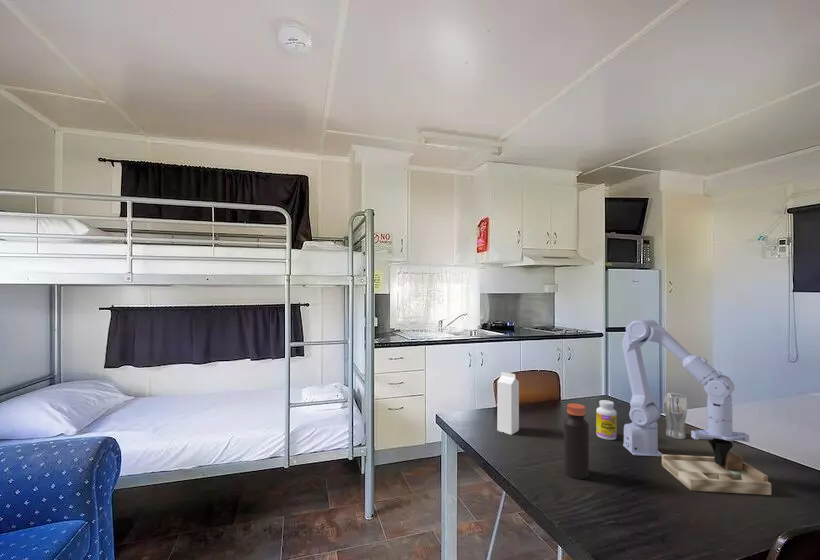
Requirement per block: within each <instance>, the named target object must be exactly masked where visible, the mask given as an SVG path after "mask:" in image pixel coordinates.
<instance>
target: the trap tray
mask: <svg viewBox="0 0 820 560" xmlns="http://www.w3.org/2000/svg"><path fill="white" fill-rule="evenodd" d="M661 466H662V467H663V468H664V469H665V470H667V471H668V472H669V473H670V474H671V475H672V476H673V477H674V478H675V479H677V481H679V482H680V483H681V484H683V485H684V486H685V487H686V488H687V489H688V490H690V491H694V492H695V491H696V492H711V493H728V494H729V493H730V494H732V493H733V494H744V495H745V494H748V495H763V496H764V495H765V496H766V495H767V496H772V482H769V476H768V475H767V474H765V473H763V472H762V471H760V470H758V469H757V468H756V467H754V466H753V465H751V464H749V463H747V462H745V461H744V460H743V463H742V471H735V470H727V469H725V468H724V467H722V466H720V465H718V464H717V463H715V459H714V456H705V455H684V454H683V455H682V454H664V453H662V457H661Z"/></svg>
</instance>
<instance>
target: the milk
mask: <svg viewBox="0 0 820 560" xmlns="http://www.w3.org/2000/svg"><path fill="white" fill-rule="evenodd" d="M496 386H497V389H496V390H497V393H496V394H497V397H496V398H497V399H496V400H497V403H496V404H497V407H496V408H497V410H496V411H497V415H496V416H497V420H496V421H497V422H496V423H497V424H496V425H497V427H496V430H497V431H498V432H500V433H503V432H504V434H507V435H510V436H512V435H513V434H514V435H515V434H516V433H517V432H518V431H519V430H520V406H519V405H520V390H519V389H520V381H519V380H518V379H517V378H516V374H515V373H512V372H511V373H510V372H505V371H501V372H500V377H499V378H498V379H497V385H496Z"/></svg>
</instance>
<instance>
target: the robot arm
mask: <svg viewBox="0 0 820 560" xmlns="http://www.w3.org/2000/svg"><path fill="white" fill-rule="evenodd" d="M646 342H653V343H656V344H660V345H662V346H663V347H664V348H666V350H667V351H669V352H670V353H671V354H672V355H674V356H675V357H676V358H677V359H679V360H680V361H681V362H682V368H683V369H684V370H686V372H687V373H688V374H690V375H691V376H692V378H694V379H695V380H696V381H697V382H698V383H700V385H702V386H703V389H704V392H705V393H706V394H707V400H706V401H707V402H706V403H707V404H706V408H707V409H706V411H707V412H706V413H707V414H706V415H707V417H706V422H707V423H706V425H707V426H706V427H707V428H706V429H705V428H704V429H698V430H691V431H690V436H691V438H692V439H694V440H697V441H698V440H699V441H700V440H707V441H708V443H709V444H710V447H711V449H712V451H713V453H714V455H713V457H714V459H715V463H717V464H718V465H720V466H724V465H725V457H726V455H727V453H728V451H731V450H732V448H733V445H734V444H733V443H732V442H733V441H740V442H741V441H742V442H746V443H749V442H750V435H749V434H747V433H746V432H739V431H733V402H732V401H733V395H731V394H732V393H733V392H734V390H735V384H734V382H733V380H732V379H731V378H730V377H729V376H727V375H724V374H723V372H721V371H717V370H716V369H715V368H714V367H713V366H712V365H710V364H709V363H708V359H707V358H705V357H701V356H700V355H694V354H691V353H690V351H688V350H687V348H685V347H684V346H683V345H682V344H681V343H680V342H678V340H677V339H676V338H674V337H673V336H672V334H670V333H669V332H668V331H667V330H666V328H665V327H664V326H662V325H661V324H659V323H658V322H657V321H656V320H655V319H651V318H645V319H641V320H639V319H638V320H633V321H631V322H630V323H629V324H628V325H627V326H626V327H625V332H624V335H623V338H622V341H621V348H622V351H623V357H624V361H625V367H626V370H627V376H628V381H629V382H628V383H629V386H630V390H631V398H630V402H629V405H630V409H629V413H628V415H629V419H630V421H631V422H630V423H625V424H624V426H623V444H622V446H623V447H624V448H625V449H626V450H628V452H629V453H631V454H632V455H633V456H641V457H642V456H643V457H661V458H662V454H663V453H662V452H660V451H659V445H658V444H659V442H658V441H659V439H658V437H659V436H658V435H659V434H658V433H659V431H658V430H659V427H658V426H659V424H658V422H657V420H659V419H660V418H661V409H660V408H659V407H658V405H657V403H656V400H655V398H654V397H653V396H652V395H651V391H650V386H649V383H648V378H647V373H646V367H645V364H644V358H643V354H642V350H641V347H642V346H643V345H645V343H646Z"/></svg>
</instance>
